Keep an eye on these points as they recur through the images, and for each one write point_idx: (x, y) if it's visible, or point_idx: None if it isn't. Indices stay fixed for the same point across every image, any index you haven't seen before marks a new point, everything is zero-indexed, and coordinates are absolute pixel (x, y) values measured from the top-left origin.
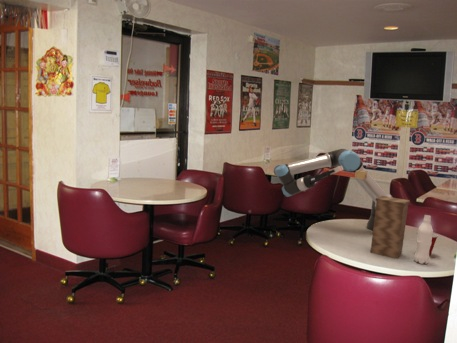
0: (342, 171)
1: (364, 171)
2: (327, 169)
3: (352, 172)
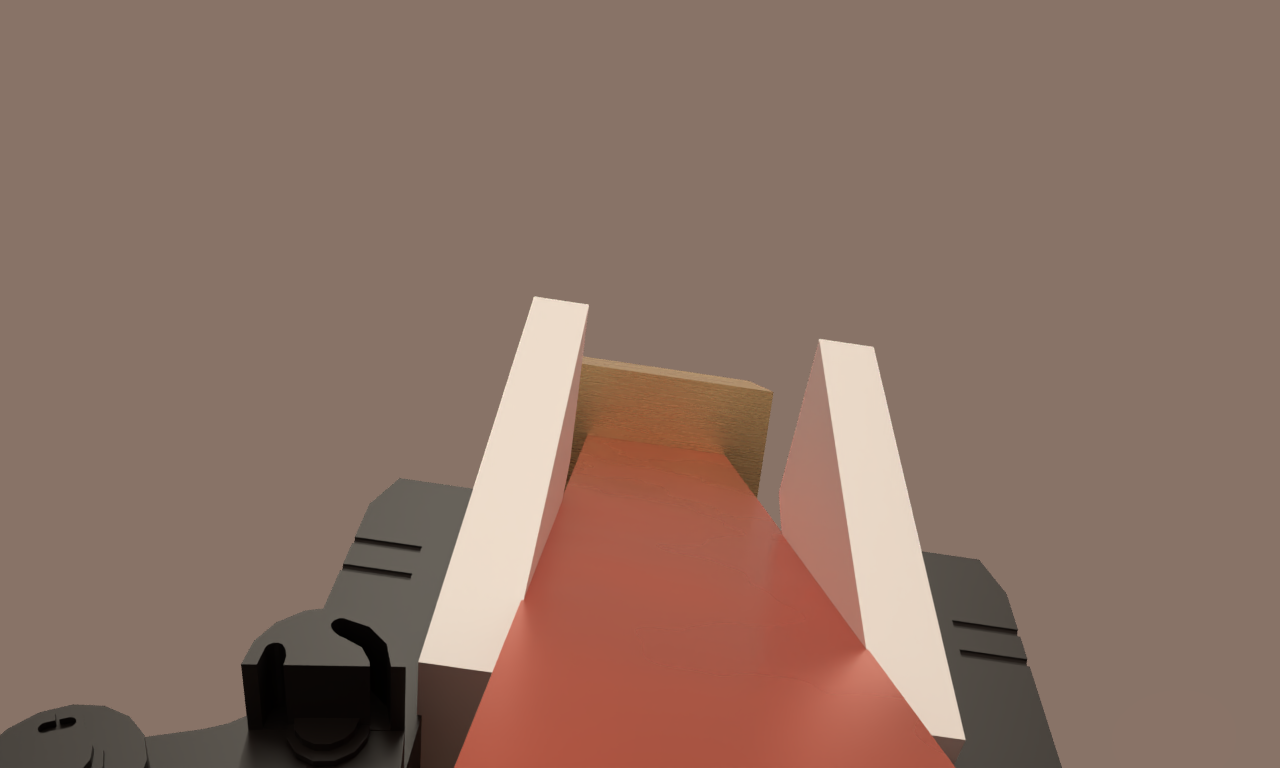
0: (747, 511)
1: (656, 368)
2: (927, 734)
3: (626, 454)
